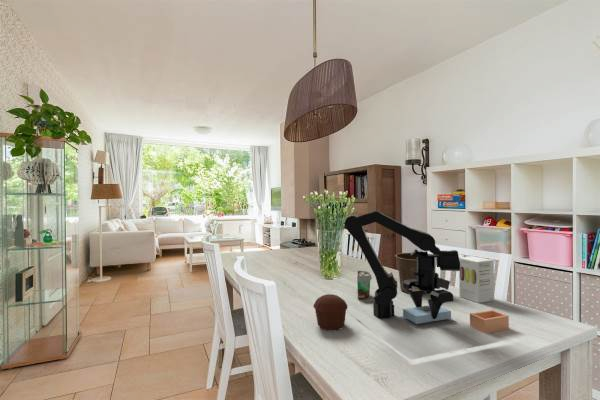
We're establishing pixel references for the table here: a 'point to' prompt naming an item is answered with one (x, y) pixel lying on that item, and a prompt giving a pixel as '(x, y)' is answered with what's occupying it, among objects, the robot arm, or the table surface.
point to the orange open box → (489, 321)
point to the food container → (363, 284)
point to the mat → (427, 322)
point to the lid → (425, 314)
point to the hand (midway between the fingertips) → (426, 314)
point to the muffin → (330, 312)
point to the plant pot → (406, 268)
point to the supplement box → (476, 279)
